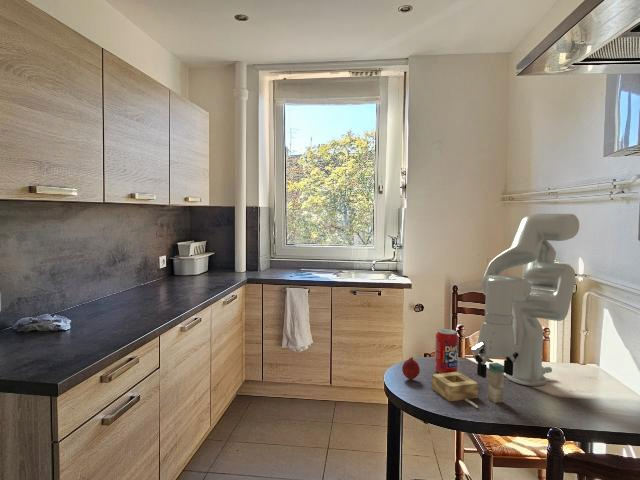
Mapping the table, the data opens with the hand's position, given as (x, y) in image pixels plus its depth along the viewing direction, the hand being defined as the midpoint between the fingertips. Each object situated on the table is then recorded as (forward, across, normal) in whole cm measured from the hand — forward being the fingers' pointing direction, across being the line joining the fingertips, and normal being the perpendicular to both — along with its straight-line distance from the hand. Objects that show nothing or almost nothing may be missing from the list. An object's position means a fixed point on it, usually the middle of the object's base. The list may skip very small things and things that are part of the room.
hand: (494, 375), depth 125 cm
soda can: (+8, 0, -24) cm, 26 cm away
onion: (+8, +16, -22) cm, 28 cm away
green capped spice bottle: (+8, -1, 0) cm, 8 cm away
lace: (+8, +8, 0) cm, 11 cm away
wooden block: (+8, +8, -8) cm, 14 cm away
